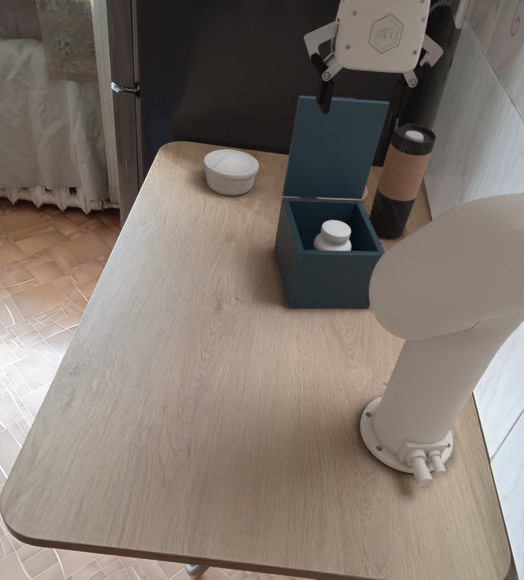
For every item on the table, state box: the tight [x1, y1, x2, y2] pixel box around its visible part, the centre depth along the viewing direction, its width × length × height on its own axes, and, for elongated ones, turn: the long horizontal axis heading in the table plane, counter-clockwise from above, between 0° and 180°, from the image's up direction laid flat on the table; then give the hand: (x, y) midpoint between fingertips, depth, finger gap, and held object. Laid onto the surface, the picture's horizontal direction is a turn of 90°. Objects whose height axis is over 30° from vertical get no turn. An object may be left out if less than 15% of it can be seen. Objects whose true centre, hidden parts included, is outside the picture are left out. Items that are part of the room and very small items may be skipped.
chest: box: [273, 197, 386, 309], centre depth 96 cm, size 16×14×11 cm
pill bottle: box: [312, 220, 351, 251], centre depth 94 cm, size 6×6×11 cm
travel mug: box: [368, 123, 437, 240], centre depth 107 cm, size 8×8×20 cm
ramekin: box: [203, 149, 260, 196], centre depth 117 cm, size 11×11×5 cm
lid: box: [281, 95, 390, 199], centre depth 92 cm, size 17×14×5 cm
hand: (359, 112), depth 74 cm, fingers open, 9 cm apart
